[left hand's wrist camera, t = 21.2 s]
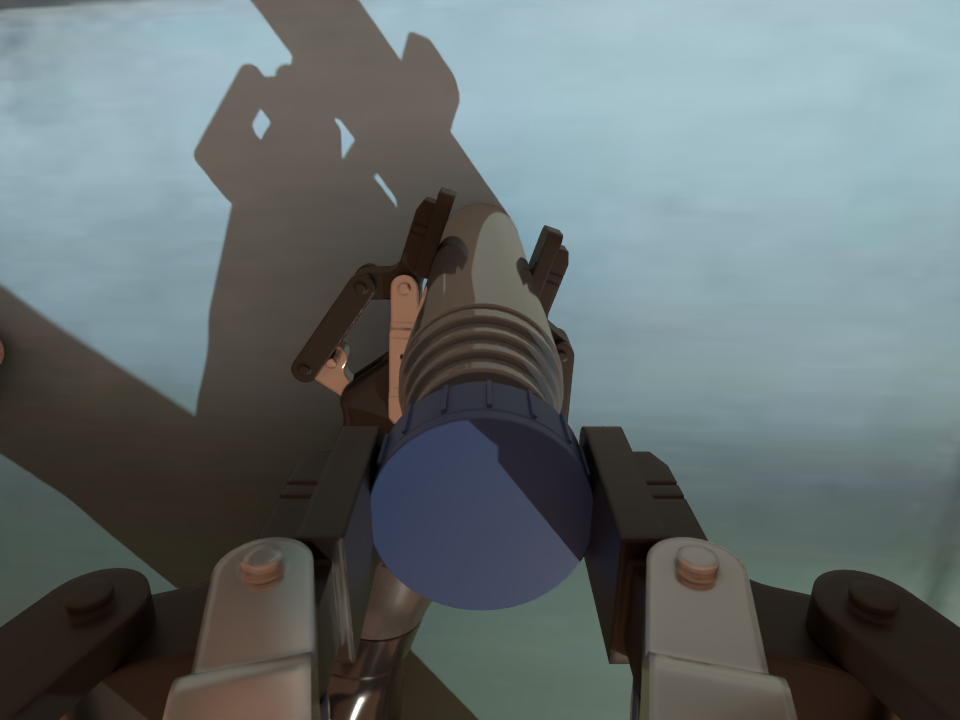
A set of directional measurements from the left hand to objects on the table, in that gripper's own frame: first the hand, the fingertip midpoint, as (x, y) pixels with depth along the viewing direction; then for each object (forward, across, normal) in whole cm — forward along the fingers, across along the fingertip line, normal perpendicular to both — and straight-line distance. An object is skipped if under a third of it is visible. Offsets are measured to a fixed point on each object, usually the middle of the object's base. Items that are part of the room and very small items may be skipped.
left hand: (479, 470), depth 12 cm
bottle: (+24, 0, 0) cm, 24 cm away
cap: (-1, 0, 0) cm, 1 cm away
